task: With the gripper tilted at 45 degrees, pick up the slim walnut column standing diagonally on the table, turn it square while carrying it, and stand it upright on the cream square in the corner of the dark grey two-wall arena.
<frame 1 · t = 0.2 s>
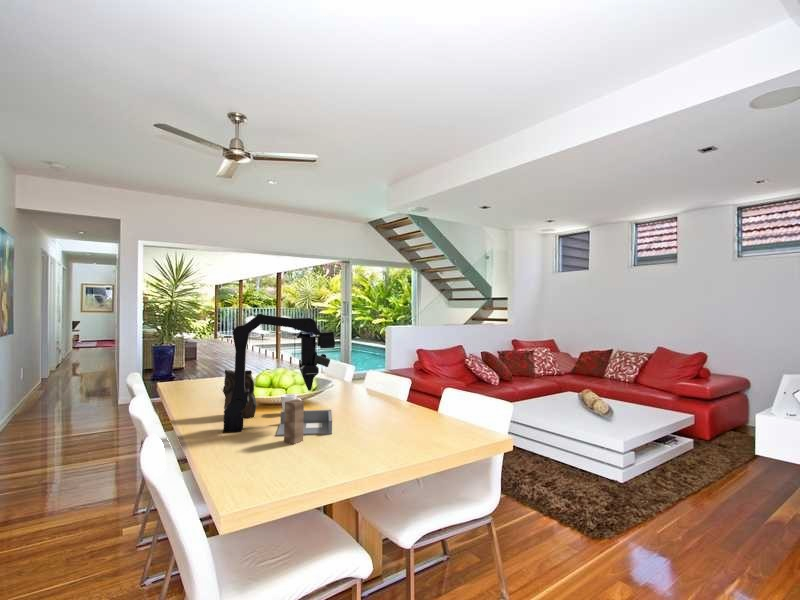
hand: (308, 388, 168), 15 cm above the table, tool pointing down, fingers open, 9 cm apart
arena: (314, 427, 165), on the table
walnut column: (293, 441, 147), on the table
owl: (243, 415, 182), on the table
cup: (291, 414, 185), on the table
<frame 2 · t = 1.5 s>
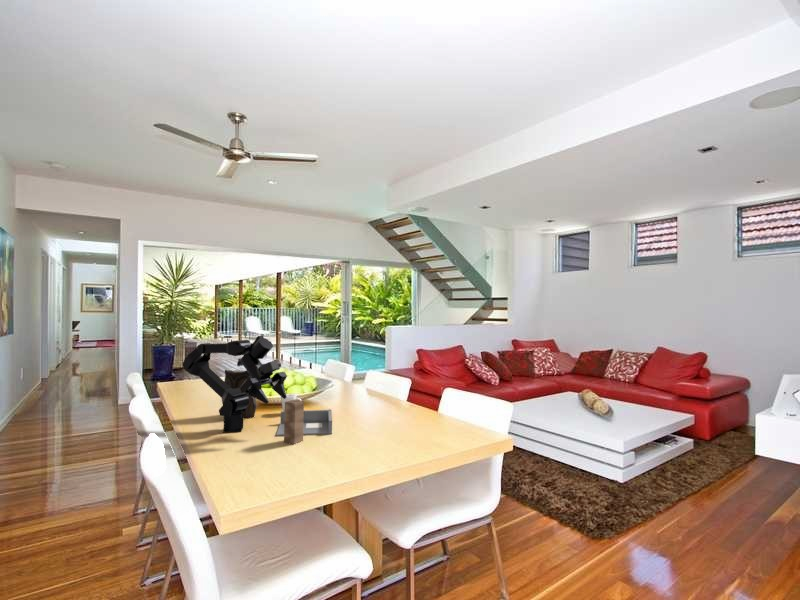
hand: (276, 400, 151), 13 cm above the table, tool tilted 45°, fingers open, 9 cm apart
nothing on the table moved.
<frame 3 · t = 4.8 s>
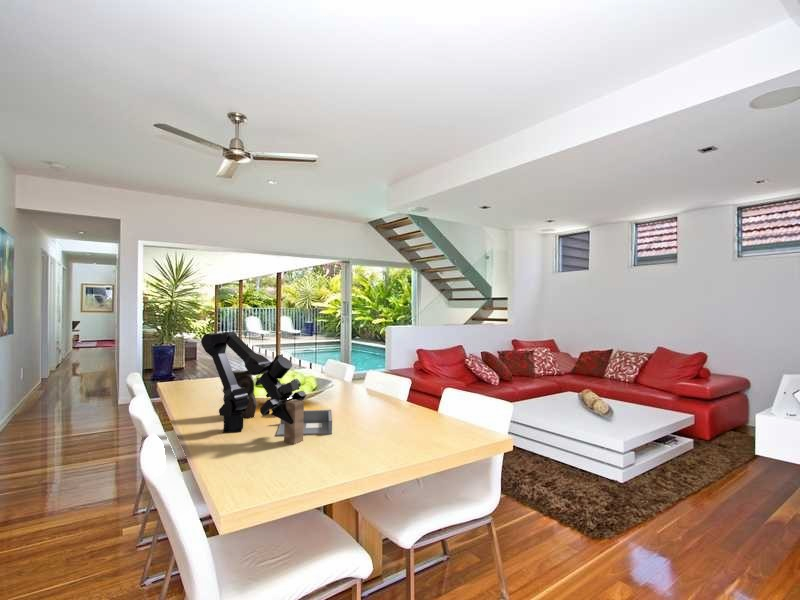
hand: (297, 421, 147), 7 cm above the table, tool tilted 45°, fingers closed on walnut column, 5 cm apart
walnut column: (293, 441, 147), on the table, touching gripper
everything else where it was.
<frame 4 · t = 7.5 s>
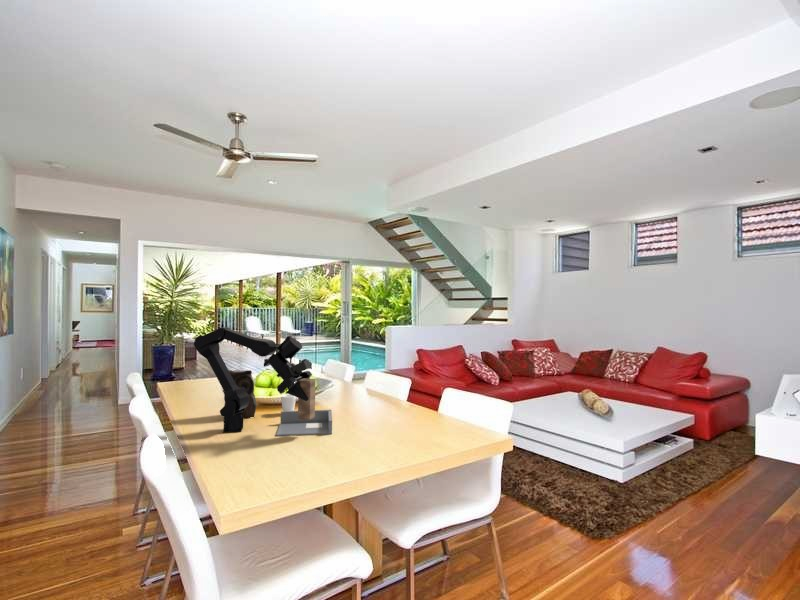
hand: (310, 398, 154), 14 cm above the table, tool tilted 45°, fingers closed on walnut column, 5 cm apart
walnut column: (306, 418, 155), point 6 cm above the table, touching gripper
everything else where it was.
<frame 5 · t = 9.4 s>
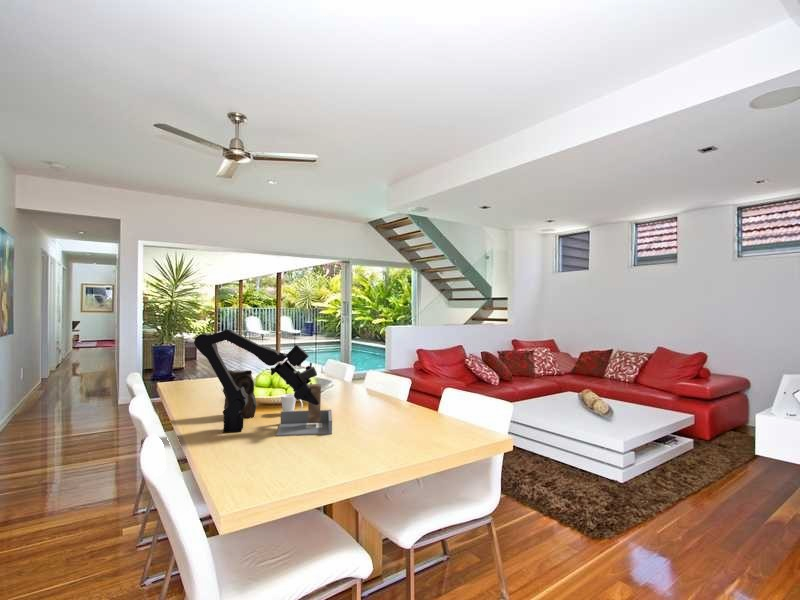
hand: (318, 402, 166), 9 cm above the table, tool tilted 45°, fingers closed on walnut column, 5 cm apart
walnut column: (314, 421, 165), point 2 cm above the table, touching gripper
everything else where it was.
when the fingers open (9 cm above the table, at t = 10.6 s): walnut column drops 1 cm, resting on arena.
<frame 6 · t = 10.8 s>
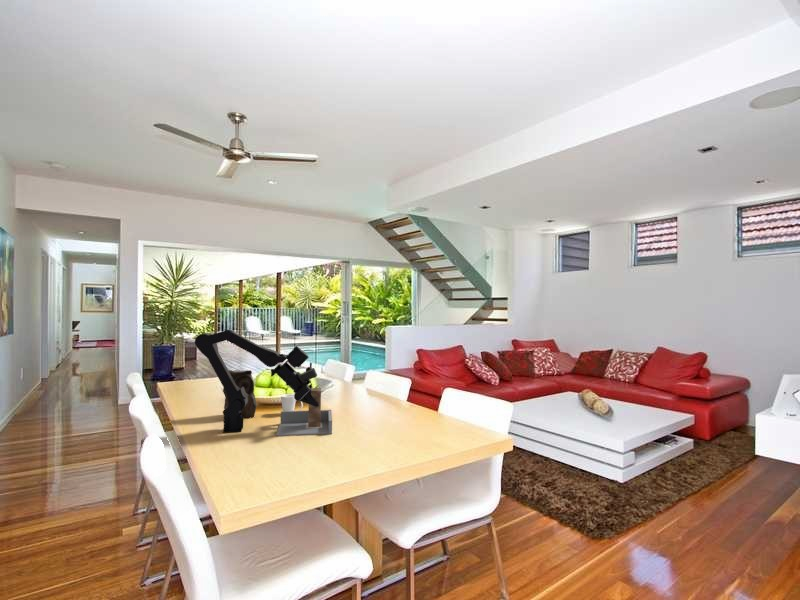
hand: (318, 403, 166), 9 cm above the table, tool tilted 45°, fingers open, 7 cm apart
walnut column: (314, 425, 165), point 1 cm above the table, touching arena
everything else where it was.
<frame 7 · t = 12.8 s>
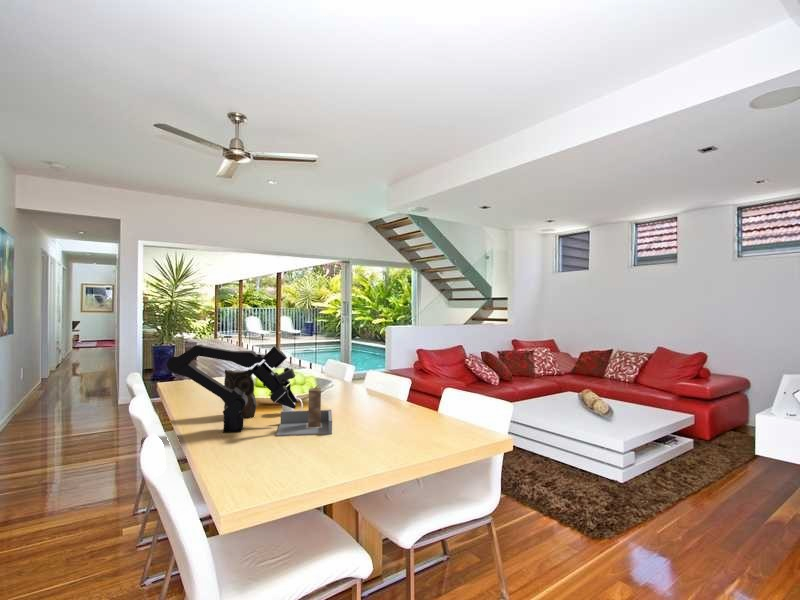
hand: (295, 404, 164), 9 cm above the table, tool tilted 45°, fingers open, 9 cm apart
nothing on the table moved.
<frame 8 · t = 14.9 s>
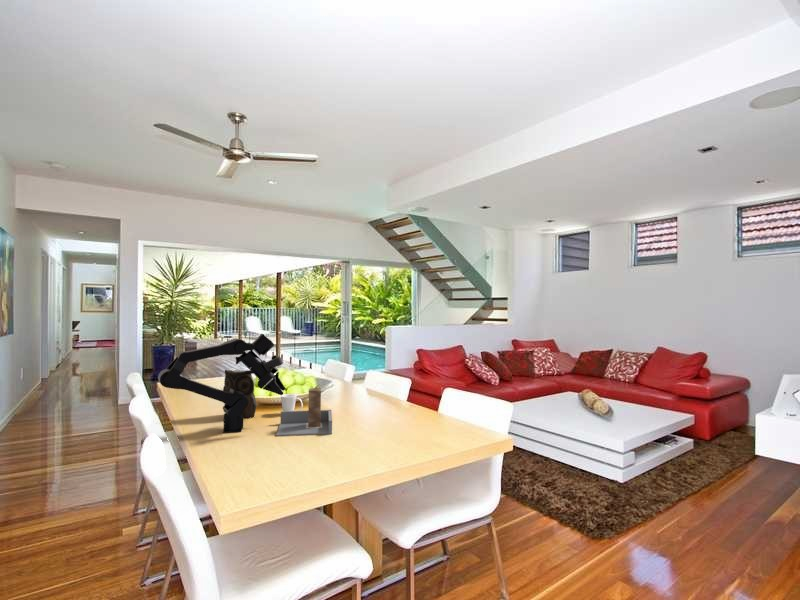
hand: (283, 391, 166), 14 cm above the table, tool tilted 45°, fingers open, 9 cm apart
nothing on the table moved.
at the end: walnut column 0.1 cm off-centre on the arena, point 0.7 cm above the arena's base; walnut column tilted 0°; the gripper is holding nothing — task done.
